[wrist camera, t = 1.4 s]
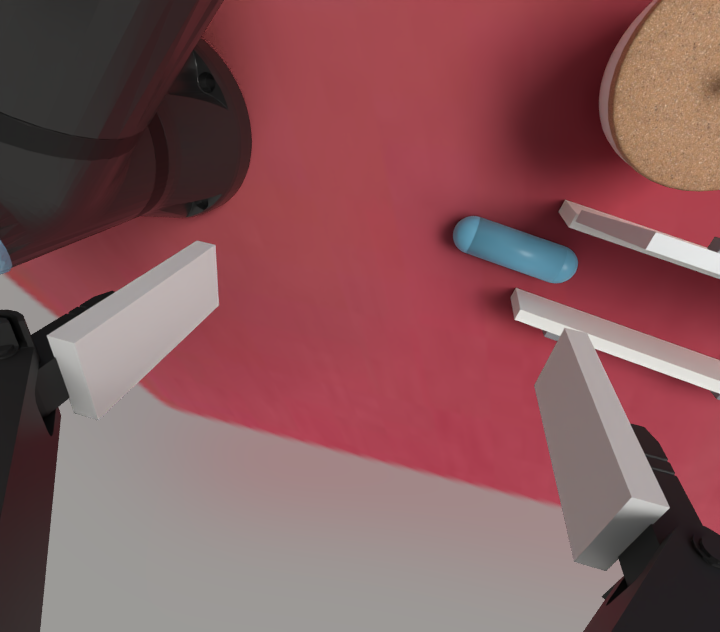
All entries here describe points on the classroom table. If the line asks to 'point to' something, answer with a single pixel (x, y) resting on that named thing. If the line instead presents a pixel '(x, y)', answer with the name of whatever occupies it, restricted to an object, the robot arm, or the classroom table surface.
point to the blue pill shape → (515, 249)
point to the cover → (656, 241)
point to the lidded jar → (667, 94)
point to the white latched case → (614, 336)
